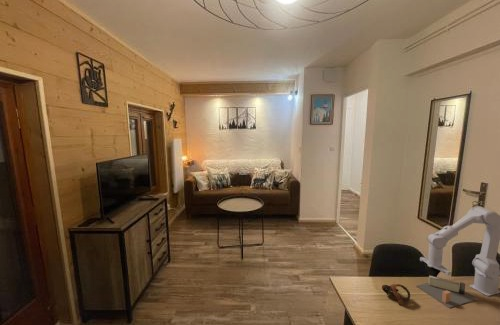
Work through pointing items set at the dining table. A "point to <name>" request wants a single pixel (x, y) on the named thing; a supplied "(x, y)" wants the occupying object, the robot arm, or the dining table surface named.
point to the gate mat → (454, 298)
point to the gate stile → (446, 296)
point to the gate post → (462, 288)
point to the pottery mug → (392, 288)
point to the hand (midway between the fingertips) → (433, 279)
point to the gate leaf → (444, 283)
